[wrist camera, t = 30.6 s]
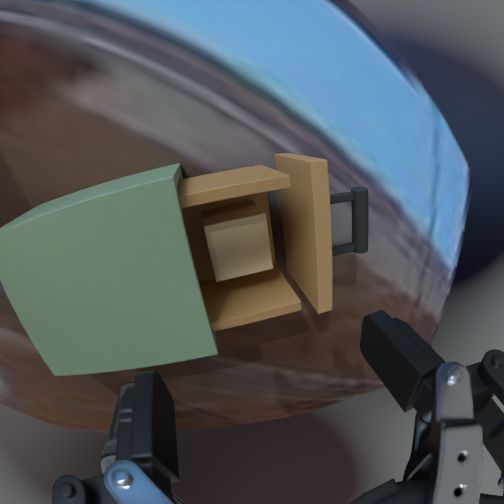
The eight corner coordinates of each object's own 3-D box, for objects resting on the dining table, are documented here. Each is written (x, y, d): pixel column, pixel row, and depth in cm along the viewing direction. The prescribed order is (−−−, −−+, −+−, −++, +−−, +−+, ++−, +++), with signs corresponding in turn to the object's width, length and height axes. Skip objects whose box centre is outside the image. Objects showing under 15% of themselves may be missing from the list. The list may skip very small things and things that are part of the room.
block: (200, 210, 23) (203, 226, 19) (252, 199, 23) (266, 213, 19) (211, 258, 25) (216, 282, 21) (259, 247, 25) (273, 268, 21)
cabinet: (180, 163, 23) (173, 176, 14) (207, 289, 28) (218, 354, 19) (40, 204, 21) (-16, 238, 12) (81, 314, 26) (54, 376, 17)
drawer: (335, 147, 24) (387, 154, 17) (341, 257, 29) (382, 293, 22) (132, 182, 22) (107, 202, 15) (165, 297, 26) (160, 351, 19)
